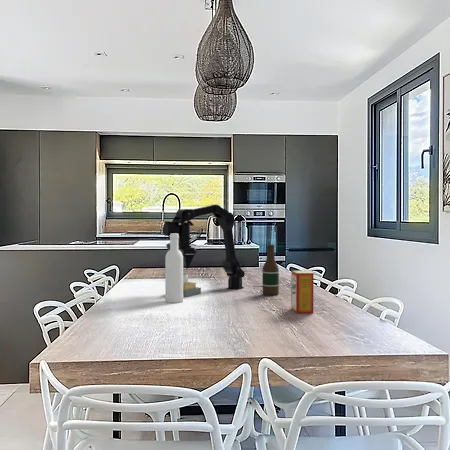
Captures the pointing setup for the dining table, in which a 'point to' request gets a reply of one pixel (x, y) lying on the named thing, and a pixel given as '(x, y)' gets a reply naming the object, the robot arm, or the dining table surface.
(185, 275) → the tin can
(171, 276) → the bottle
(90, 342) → the dining table surface
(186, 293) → the gearbox
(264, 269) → the beer bottle
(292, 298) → the baking soda box
